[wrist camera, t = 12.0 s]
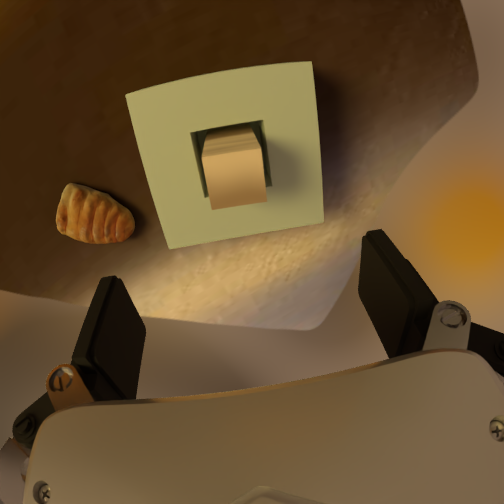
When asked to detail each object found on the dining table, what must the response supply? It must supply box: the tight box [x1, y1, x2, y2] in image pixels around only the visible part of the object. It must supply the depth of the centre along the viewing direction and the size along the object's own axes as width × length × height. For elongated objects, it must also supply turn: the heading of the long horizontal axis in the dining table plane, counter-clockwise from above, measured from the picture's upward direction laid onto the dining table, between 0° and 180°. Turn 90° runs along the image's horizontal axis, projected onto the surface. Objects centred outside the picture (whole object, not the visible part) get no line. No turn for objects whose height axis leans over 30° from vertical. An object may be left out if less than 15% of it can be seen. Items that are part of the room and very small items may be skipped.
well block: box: [126, 62, 324, 249], centre depth 28 cm, size 15×15×6 cm
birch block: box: [202, 123, 267, 210], centre depth 26 cm, size 4×4×10 cm
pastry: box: [56, 183, 135, 244], centre depth 32 cm, size 9×7×4 cm
